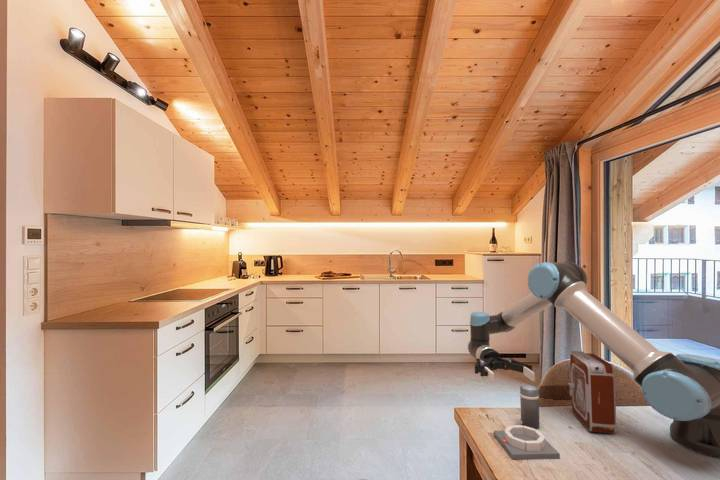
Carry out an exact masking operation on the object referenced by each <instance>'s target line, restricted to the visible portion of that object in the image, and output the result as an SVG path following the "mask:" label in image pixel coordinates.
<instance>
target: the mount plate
mask: <svg viewBox="0 0 720 480" xmlns="http://www.w3.org/2000/svg"><path fill="white" fill-rule="evenodd" d="M493 436H494V437H495V439H496V440H497V441H498V442H499V444H500V445H501V446H502V447H503V449H504V450H505V452H506V453H507V454H508V455H509V457H510V458H511V460H542V459H543V460H544V459H546V460H547V459H550V460H551V459H552V460H553V459H555V460H556V459H560V457H561V455H560V452H559V451H558V450H556V448H555V447H554V446H553V445H551V444H550V443H549V441H547V440H546V436H545V435H544V434H543V433H542V432H541V431H540V429H534V428H530V427H527V426H523V425H521V424H519V425H518V424H517V425H516V424H513V425H508V427H506V428H504V429H503V430H493Z"/></svg>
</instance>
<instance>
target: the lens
mask: <svg viewBox="0 0 720 480" xmlns="http://www.w3.org/2000/svg"><path fill="white" fill-rule="evenodd" d="M519 396H520V401H519V402H520V425H523V426H527V427H530V428H534V429H537V430H540V428H539V427H540V401H539V400H540V393H539V388H537V387H535V386H534V385H530V384H523V385H520V387H519Z"/></svg>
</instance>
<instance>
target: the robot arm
mask: <svg viewBox="0 0 720 480" xmlns="http://www.w3.org/2000/svg"><path fill="white" fill-rule="evenodd" d="M587 284H588V276H587V273H586V270H584V268H583V267H582V266H581V265H579V264H577V263H575V262H570V261H563V262H562V261H559V262H558V261H557V262H556V261H555V262H554V261H551V262H548V261H544V262H542V263H540V262H539V263H538V264H535V265H534V266H532V268H531V269H530V271H529V272H528V275H527V286H528V289H529V291H530V292H531V293H529V294H527V295H526V296H524V297H522V298H520V300H518V301H515V303H513V304H511V305H510V306H509V307H507V308H506V309H504V310H503V311H501V312H499V313H497V314H494V315H490V314H489V313H487V312H486V311H485V312H484V311H474V312H471V313H470V317H469V318H470V320H469V325H470V339H469V342H468V343H467V350H468V352H469V355H470V356H471V357H473V358H474V359H475V364H474V374H476V375H478V374H479V373H480V375H479V376H480V377H486V378H487V379H488V380H489V381H491V382H495V373H494V372H493V371H497V370H504V371H508V370H511V371H513V372H517V373H522V374H523V375H524V376H525V377H526V378H528V379H529V380H531V381H532V382H536V372H534V371H533V365H531V364H528V363H525V362H522V361H519V360H516V359H514V358H511V357H510V358H508V359H506V358H503V357H502V355H501V354H500V353H499V352H498V351H497V350H496V349H494V348H493V347H491V346H490V340H491V339H490V335H494V334H500V333H509V332H512V331H513V330H515V328H516V326H517V325H519V324H521V323H523V322H524V321H526V320H528V319H530V318H532V317H533V316H534V315H536V314H538V313H541V312H542V311H544V310H545V309H547V308H549V307H551V306H552V305H553V306H554V307H555V308H556V309H561V310H562V309H564V310H565V311H566V312H568V313H569V315H571V316H572V317H573V318H574V319H575V320H576V321H577V322H579V324H580V325H582V326H583V327H584V328H585V329H586V330H587V331H588V332H590V334H591V335H593V337H595V338H596V339H597V340H598V341H599V342H600V343H601V344H602V345H603V346H605V347H606V348H607V350H609V351H610V352H611V353H612V354H613V355H615V357H617V359H619V360H620V361H621V362H622V363H623V364H624V365H625V366H626V367H628V368H629V369H630V370H631V371H632V374H633V375H632V376H633V381H634V382H636V383H637V385H638V386H640V387H641V391H642V393H643V394H642V395H643V397H644V399H645V401H646V403H647V404H648V405H649V406H650V407H651V408H652V409H653V410H655V412H657V413H659V414H660V415H662V416H663V417H666V418H668V419H671V420H672V422H671V423H670V426H669V435H670V438H671V439H672V440H673V441H675V442H676V443H677V444H679V445H680V446H681V447H685V448H687V449H689V450H691V451H694V452H696V453H699V454H703V455H705V456H709V457H713V458H718V459H720V359H719V358H713V357H710V356H703V355H697V354H696V355H695V354H689V353H676V354H673V353H672V352H670V351H662V350H659V349H657V348H656V347H655V346H654V345H652V343H651V342H649V341H648V340H647V339H646V338H644V337H643V336H642V335H641V334H640V333H638V332H637V331H636V330H634V328H632V327H631V326H630V325H628V324H627V323H626V322H625V321H624V320H622V319H621V318H620V317H619V316H617V315H616V314H615V313H614V312H613V311H611V309H609V308H608V307H607V306H605V305H604V304H603V303H602V302H600V301H599V299H597V298H596V297H595V296H593V295H592V294H591V293H590V292H588V291H587V290H586V287H587Z"/></svg>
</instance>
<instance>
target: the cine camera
mask: <svg viewBox="0 0 720 480" xmlns="http://www.w3.org/2000/svg"><path fill="white" fill-rule="evenodd" d="M569 357H570V358H569V359H570V360H569V361H570V362H569V363H570V364H569V365H570V373H569V380H570V382H567V384H568V387H569V392H568V394H569V396H570V397H571V409H572V410H571V411H572V413H573V415H574V416H575V417H576V418H577V419H578V420H579V421H580V423H581V424H582V425H583V426H584V427H585V428H586V430H587V431H589V432H591V433H602V434H616V432H617V406H616V404H617V398H616V383H615V381H616V379H615V369H614V366H613V364H612V363H609V362H608V361H606V360H605V359H603V358H602V357H600V356H598V355H596V354H594V353H587V352H584V351H582V350H571V351H570V355H569Z"/></svg>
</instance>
